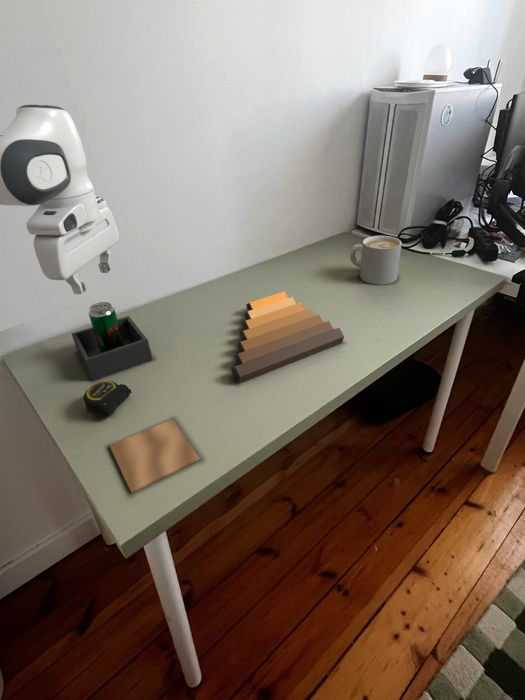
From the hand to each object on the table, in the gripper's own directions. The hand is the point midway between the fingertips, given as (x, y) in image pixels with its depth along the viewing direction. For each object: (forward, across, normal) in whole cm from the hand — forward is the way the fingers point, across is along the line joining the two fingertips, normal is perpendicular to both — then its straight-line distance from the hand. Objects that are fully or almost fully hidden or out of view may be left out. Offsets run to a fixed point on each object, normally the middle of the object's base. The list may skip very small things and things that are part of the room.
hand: (93, 281), depth 84 cm
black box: (+17, 0, 0) cm, 17 cm away
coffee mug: (+18, -48, +54) cm, 74 cm away
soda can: (+18, 0, 0) cm, 18 cm away
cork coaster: (+17, +25, +20) cm, 37 cm away
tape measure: (+18, +16, +8) cm, 25 cm away
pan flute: (+18, -12, +30) cm, 37 cm away
